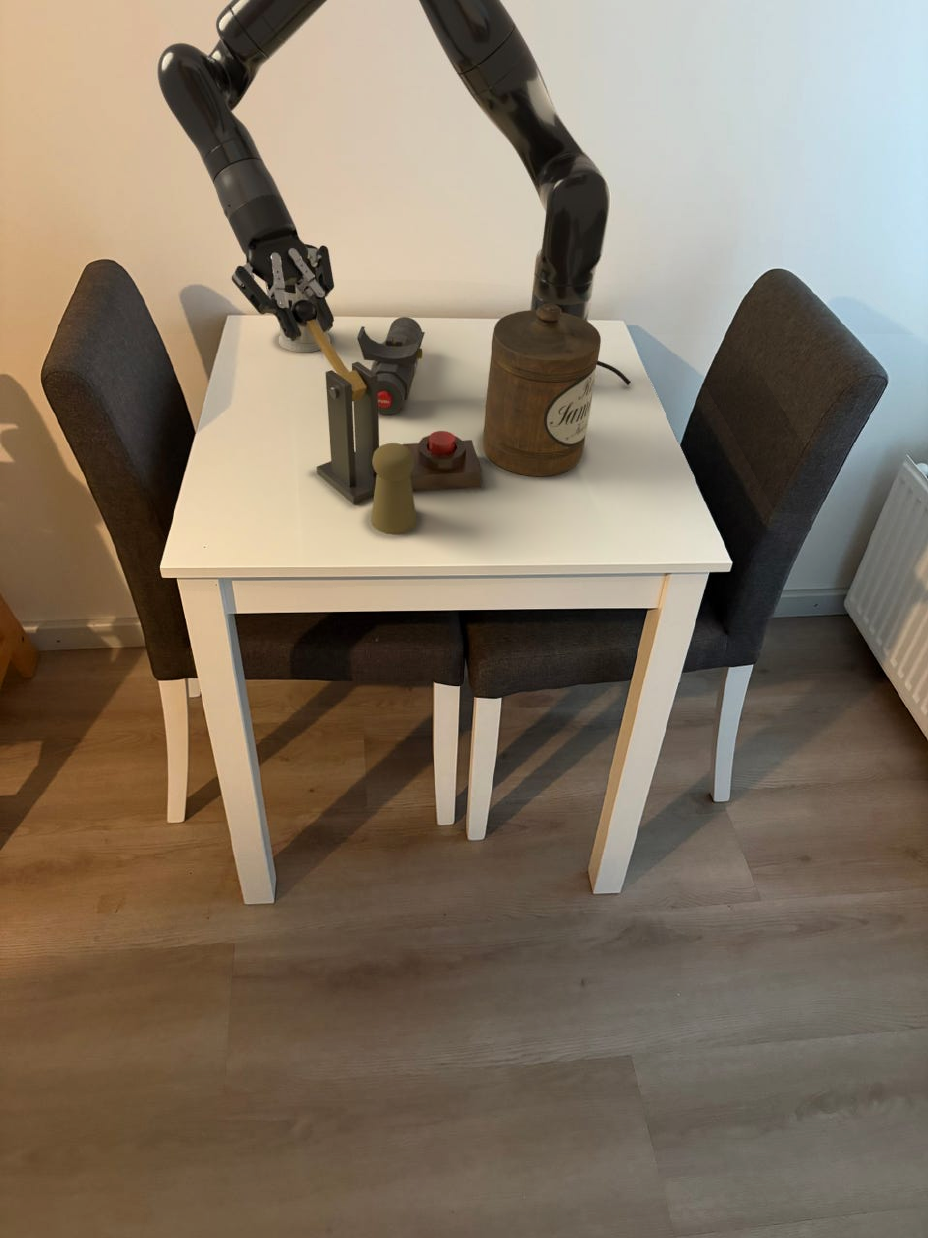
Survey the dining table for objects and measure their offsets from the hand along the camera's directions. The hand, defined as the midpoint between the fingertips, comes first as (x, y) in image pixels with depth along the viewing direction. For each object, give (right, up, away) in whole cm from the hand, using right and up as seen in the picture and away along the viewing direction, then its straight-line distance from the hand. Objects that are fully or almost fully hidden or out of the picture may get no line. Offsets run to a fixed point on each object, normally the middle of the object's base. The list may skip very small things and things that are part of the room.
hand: (312, 333), depth 116 cm
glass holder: (-7, +9, +35) cm, 37 cm away
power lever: (+1, -3, 0) cm, 3 cm away
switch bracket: (+5, -18, +8) cm, 20 cm away
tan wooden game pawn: (+10, -24, +2) cm, 27 cm away
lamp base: (+16, -17, +10) cm, 25 cm away
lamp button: (+17, -14, +7) cm, 23 cm away
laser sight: (+9, +1, +28) cm, 29 cm away
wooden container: (+30, -12, +16) cm, 36 cm away
